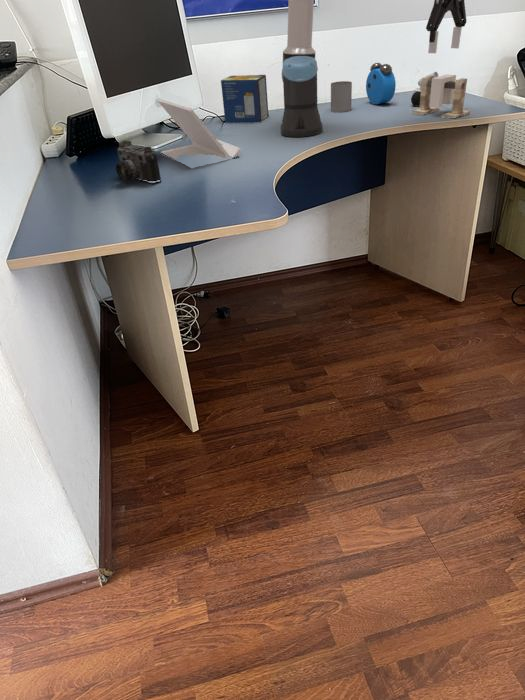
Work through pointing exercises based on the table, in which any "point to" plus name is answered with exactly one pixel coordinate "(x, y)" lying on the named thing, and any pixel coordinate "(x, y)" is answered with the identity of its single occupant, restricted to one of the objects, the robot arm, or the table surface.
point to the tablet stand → (196, 134)
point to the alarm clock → (380, 84)
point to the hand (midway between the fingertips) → (443, 50)
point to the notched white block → (441, 91)
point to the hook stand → (457, 100)
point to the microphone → (416, 98)
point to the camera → (137, 163)
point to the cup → (341, 96)
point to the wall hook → (421, 81)
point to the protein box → (245, 98)
